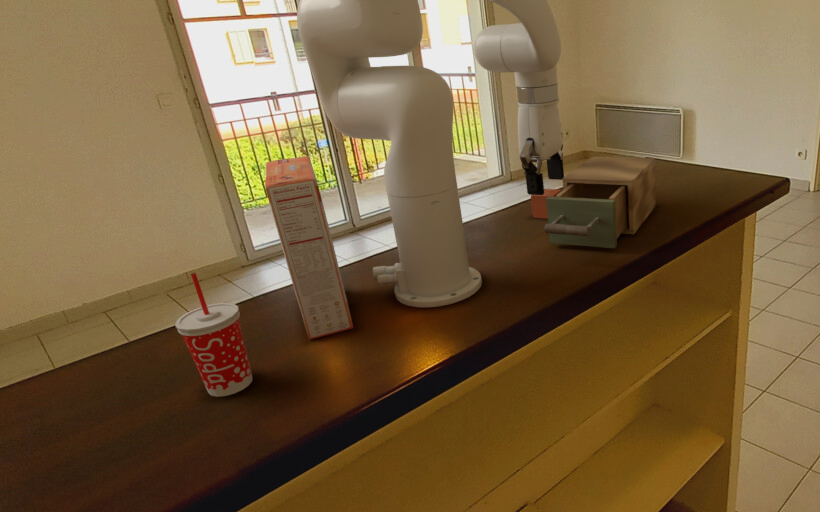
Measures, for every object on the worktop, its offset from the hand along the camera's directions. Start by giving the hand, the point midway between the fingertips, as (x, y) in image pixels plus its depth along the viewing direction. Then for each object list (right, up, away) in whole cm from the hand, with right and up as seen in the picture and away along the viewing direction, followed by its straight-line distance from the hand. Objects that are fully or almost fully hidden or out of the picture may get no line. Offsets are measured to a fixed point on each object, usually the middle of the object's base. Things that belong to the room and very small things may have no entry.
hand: (546, 186), depth 117 cm
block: (0, -5, +2) cm, 6 cm away
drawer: (+8, -10, -13) cm, 19 cm away
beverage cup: (-34, -28, -47) cm, 64 cm away
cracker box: (-29, -22, -32) cm, 48 cm away
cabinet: (+12, -6, -2) cm, 14 cm away
